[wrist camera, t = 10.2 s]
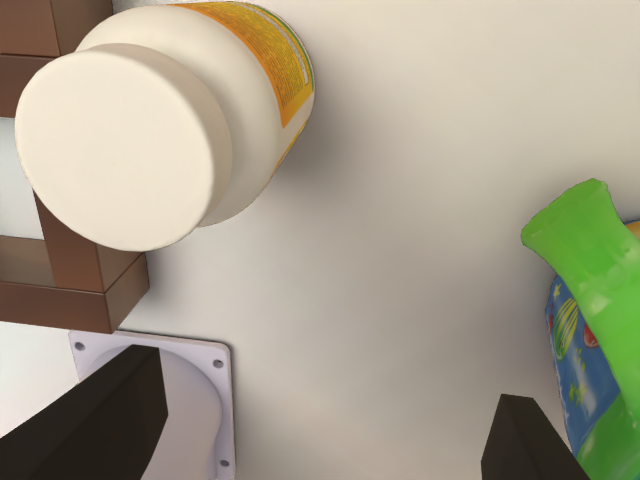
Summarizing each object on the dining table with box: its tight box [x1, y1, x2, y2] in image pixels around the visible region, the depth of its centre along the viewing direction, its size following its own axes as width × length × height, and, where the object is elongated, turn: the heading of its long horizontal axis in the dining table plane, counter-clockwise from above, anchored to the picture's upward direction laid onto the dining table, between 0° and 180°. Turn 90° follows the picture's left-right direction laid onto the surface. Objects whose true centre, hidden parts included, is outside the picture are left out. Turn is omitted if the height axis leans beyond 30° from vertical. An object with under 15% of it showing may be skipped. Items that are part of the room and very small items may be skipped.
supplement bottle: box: [15, 1, 315, 252], centre depth 14 cm, size 5×5×10 cm
